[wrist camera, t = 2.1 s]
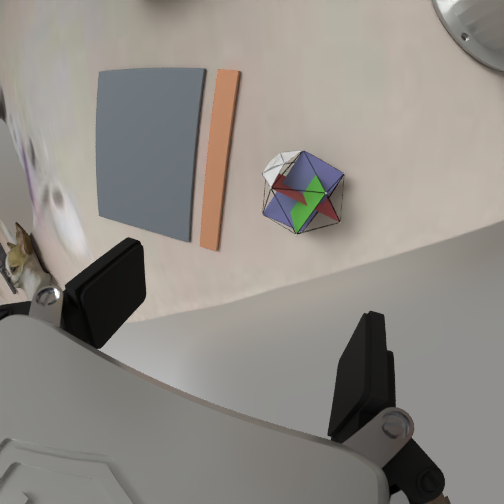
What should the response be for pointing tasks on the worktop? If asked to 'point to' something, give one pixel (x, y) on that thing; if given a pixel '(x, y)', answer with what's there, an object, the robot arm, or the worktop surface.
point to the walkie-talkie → (0, 266)
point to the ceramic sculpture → (25, 265)
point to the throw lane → (161, 148)
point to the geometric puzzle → (300, 190)
